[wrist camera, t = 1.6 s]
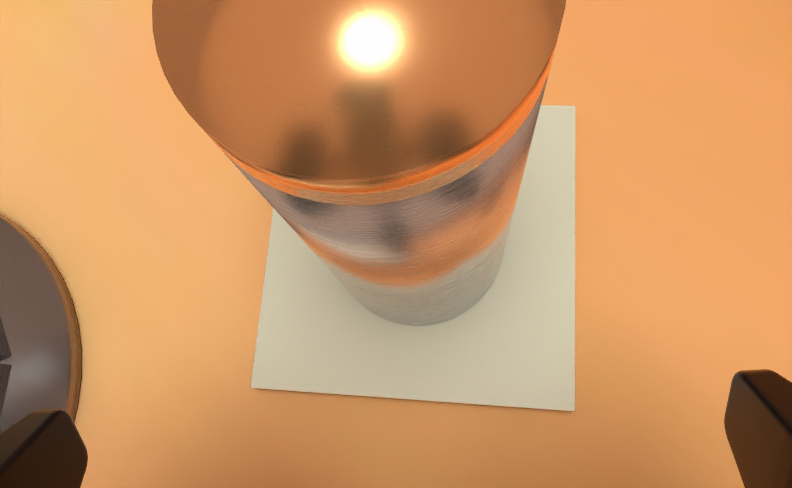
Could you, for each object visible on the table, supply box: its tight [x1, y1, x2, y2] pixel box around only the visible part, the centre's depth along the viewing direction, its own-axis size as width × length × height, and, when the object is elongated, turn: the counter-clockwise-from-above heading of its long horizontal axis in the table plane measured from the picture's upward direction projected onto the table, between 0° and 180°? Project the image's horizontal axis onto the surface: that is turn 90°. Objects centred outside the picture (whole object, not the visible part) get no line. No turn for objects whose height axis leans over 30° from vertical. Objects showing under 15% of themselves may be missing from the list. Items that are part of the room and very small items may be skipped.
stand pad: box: [251, 105, 575, 411], centre depth 21 cm, size 10×10×1 cm
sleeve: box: [152, 0, 566, 326], centre depth 15 cm, size 6×6×13 cm
